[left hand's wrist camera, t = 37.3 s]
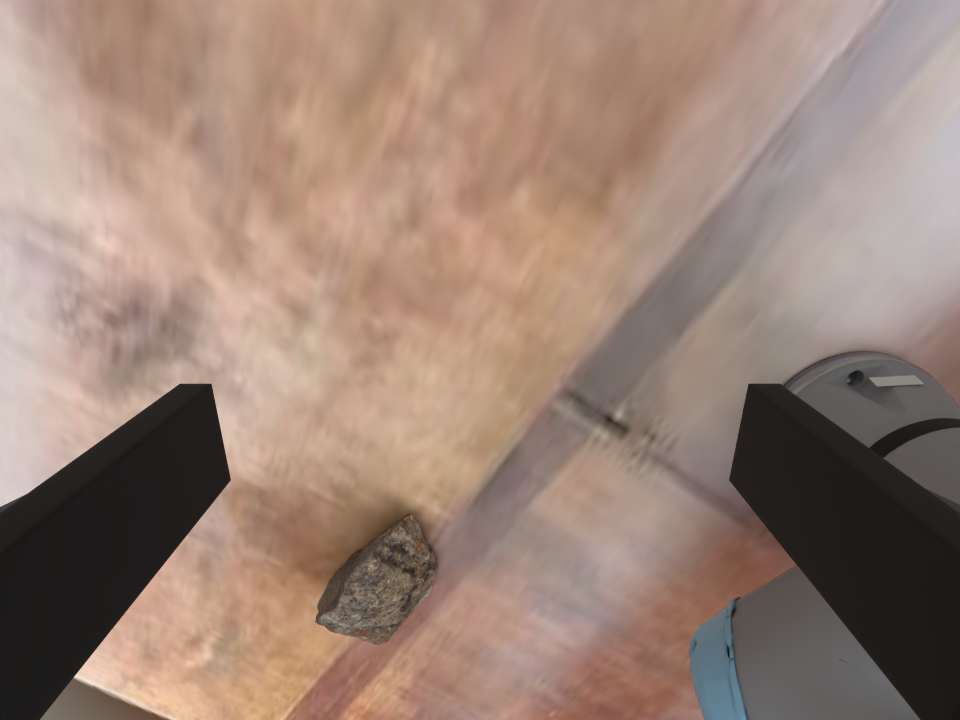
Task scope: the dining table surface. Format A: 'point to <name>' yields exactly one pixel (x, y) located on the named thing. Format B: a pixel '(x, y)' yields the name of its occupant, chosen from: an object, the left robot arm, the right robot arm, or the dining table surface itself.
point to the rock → (380, 585)
